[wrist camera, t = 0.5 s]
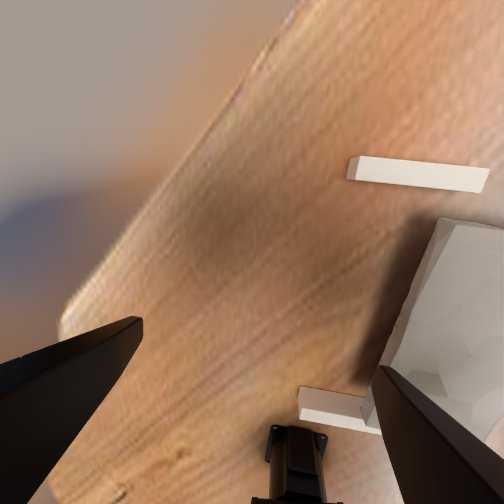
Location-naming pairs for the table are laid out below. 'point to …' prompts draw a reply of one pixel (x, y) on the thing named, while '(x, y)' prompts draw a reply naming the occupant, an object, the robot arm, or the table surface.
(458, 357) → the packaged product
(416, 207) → the table surface
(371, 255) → the table surface
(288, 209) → the table surface
